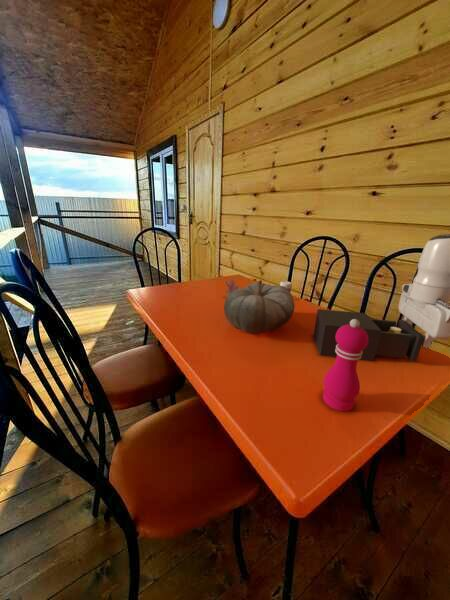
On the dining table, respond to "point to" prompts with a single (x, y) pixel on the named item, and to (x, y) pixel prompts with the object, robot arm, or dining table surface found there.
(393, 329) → the watch
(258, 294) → the gourd
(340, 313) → the cabinet
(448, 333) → the robot arm
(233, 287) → the lily
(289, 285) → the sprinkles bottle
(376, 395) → the dining table surface
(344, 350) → the pepper mill
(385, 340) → the drawer
